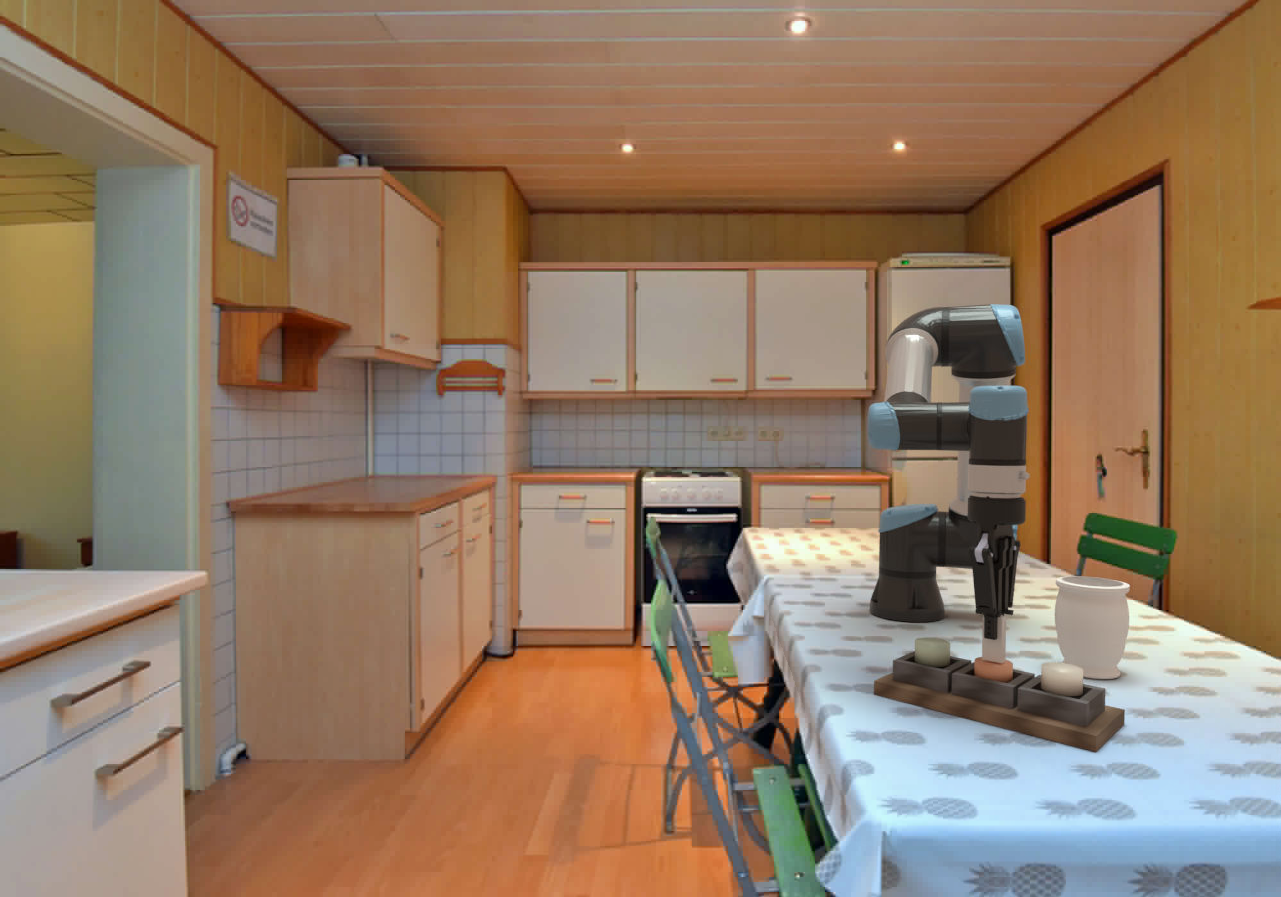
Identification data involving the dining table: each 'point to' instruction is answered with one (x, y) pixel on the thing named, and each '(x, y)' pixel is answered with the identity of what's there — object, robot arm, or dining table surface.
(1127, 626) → the jar
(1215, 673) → the dining table surface
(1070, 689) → the button cream
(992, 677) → the button terracotta
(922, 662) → the button sage
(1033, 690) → the button board
